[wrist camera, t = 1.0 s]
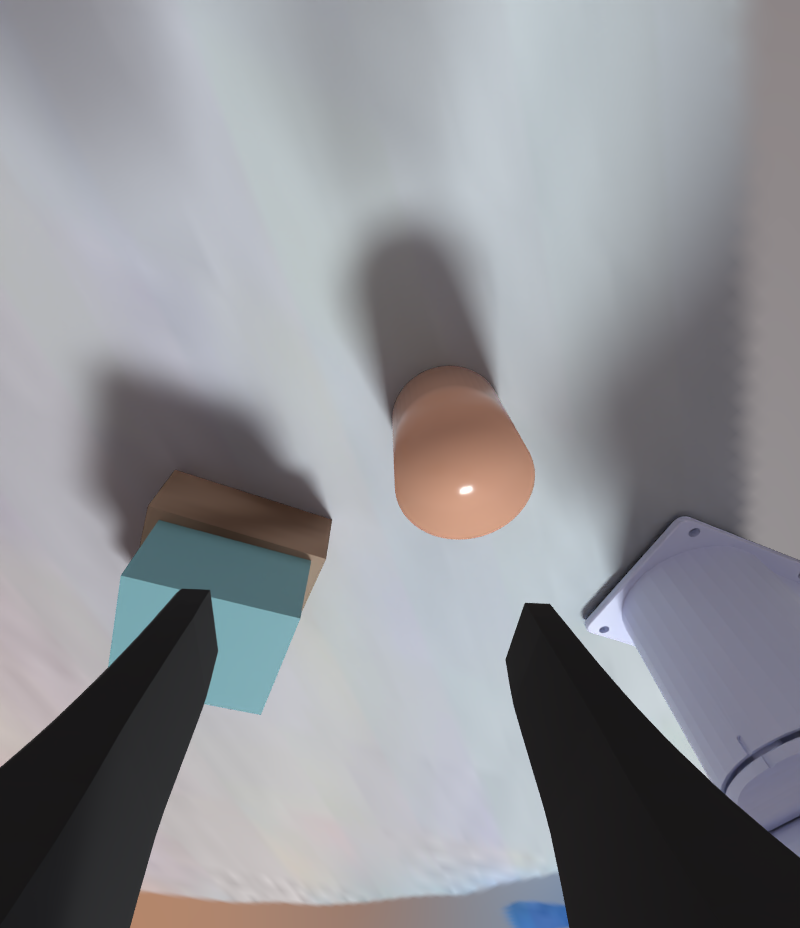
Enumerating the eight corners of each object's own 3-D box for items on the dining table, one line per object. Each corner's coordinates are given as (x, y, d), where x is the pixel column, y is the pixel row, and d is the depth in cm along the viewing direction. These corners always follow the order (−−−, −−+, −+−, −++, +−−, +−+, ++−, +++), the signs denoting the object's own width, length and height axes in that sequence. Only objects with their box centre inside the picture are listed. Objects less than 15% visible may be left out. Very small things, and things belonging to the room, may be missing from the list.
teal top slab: (311, 560, 19) (300, 618, 17) (275, 652, 22) (260, 714, 19) (158, 520, 18) (120, 575, 15) (140, 622, 21) (105, 685, 18)
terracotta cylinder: (520, 391, 19) (562, 451, 14) (468, 478, 21) (491, 554, 16) (419, 347, 18) (431, 399, 13) (375, 444, 20) (373, 515, 15)
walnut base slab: (332, 515, 22) (325, 558, 19) (288, 614, 25) (278, 663, 22) (178, 465, 20) (148, 506, 18) (152, 578, 23) (123, 626, 21)
